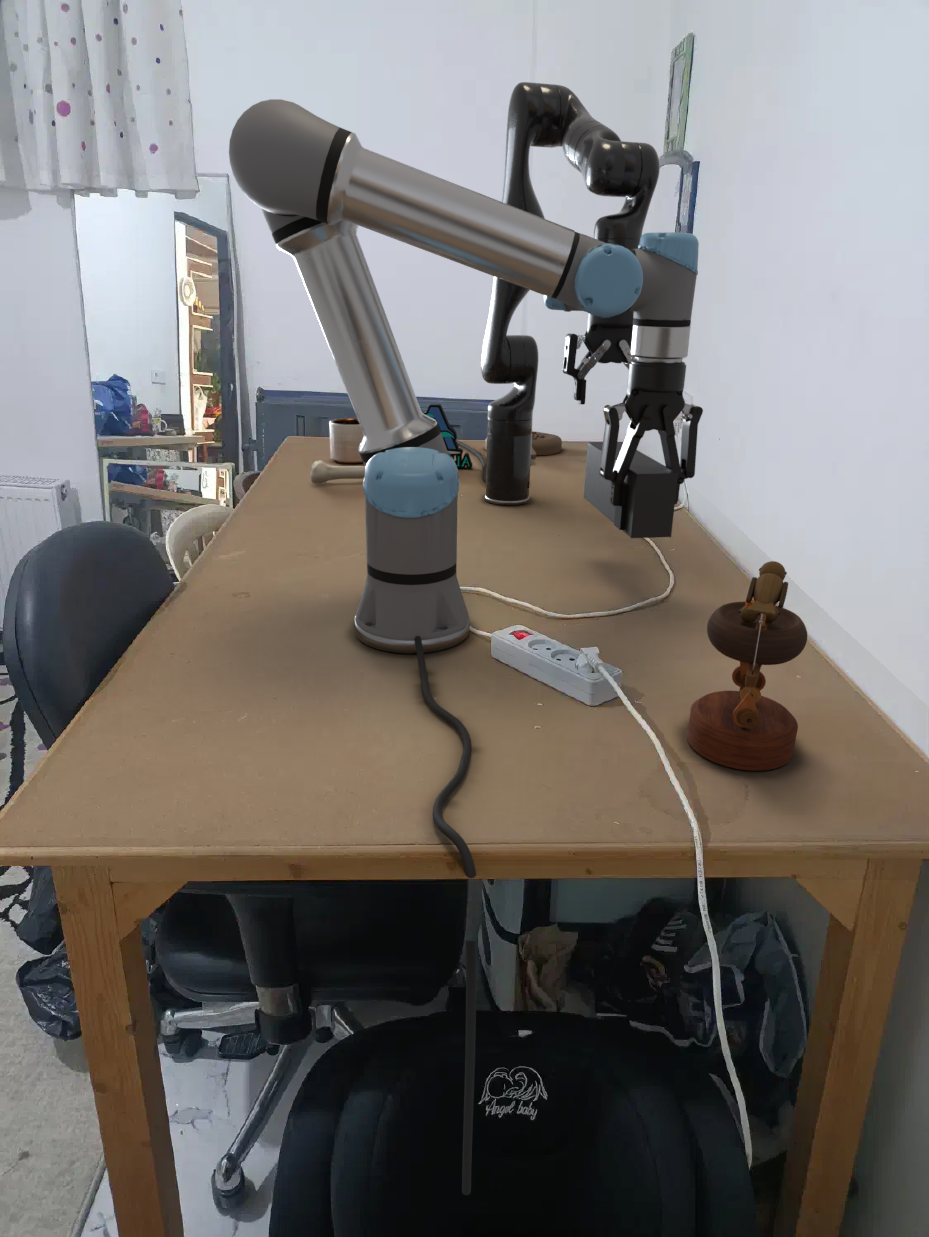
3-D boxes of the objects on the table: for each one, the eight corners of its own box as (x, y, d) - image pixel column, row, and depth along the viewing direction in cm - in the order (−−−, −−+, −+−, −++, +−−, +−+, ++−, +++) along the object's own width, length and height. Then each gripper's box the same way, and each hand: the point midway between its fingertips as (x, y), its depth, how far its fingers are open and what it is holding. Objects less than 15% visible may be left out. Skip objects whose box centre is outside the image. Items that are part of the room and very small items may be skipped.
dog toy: (399, 478, 195) (399, 457, 193) (401, 484, 190) (401, 462, 188) (310, 480, 192) (309, 458, 190) (310, 486, 187) (309, 464, 185)
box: (671, 537, 119) (678, 473, 115) (630, 538, 118) (637, 474, 114) (617, 497, 140) (622, 441, 136) (583, 497, 139) (587, 442, 135)
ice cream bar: (490, 464, 211) (490, 447, 209) (483, 443, 237) (483, 428, 235) (573, 465, 212) (575, 448, 210) (557, 444, 238) (558, 429, 236)
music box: (815, 783, 80) (835, 585, 73) (696, 783, 82) (704, 589, 74) (778, 707, 94) (791, 534, 87) (677, 708, 96) (682, 538, 88)
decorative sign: (472, 466, 209) (473, 404, 203) (471, 468, 206) (473, 406, 201) (396, 464, 210) (395, 402, 204) (394, 466, 207) (393, 404, 202)
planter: (327, 456, 217) (325, 418, 214) (369, 454, 220) (368, 417, 217) (334, 465, 208) (332, 425, 204) (377, 463, 211) (376, 424, 207)
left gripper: (712, 357, 118) (692, 518, 127) (581, 356, 115) (570, 521, 124) (737, 362, 111) (714, 532, 120) (598, 362, 108) (585, 536, 117)
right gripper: (650, 293, 131) (641, 400, 137) (561, 292, 129) (556, 401, 135) (668, 293, 124) (659, 406, 130) (575, 292, 122) (569, 407, 128)
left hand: (641, 526), depth 122 cm, fingers closed on box, 6 cm apart
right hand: (607, 403), depth 132 cm, fingers open, 8 cm apart
